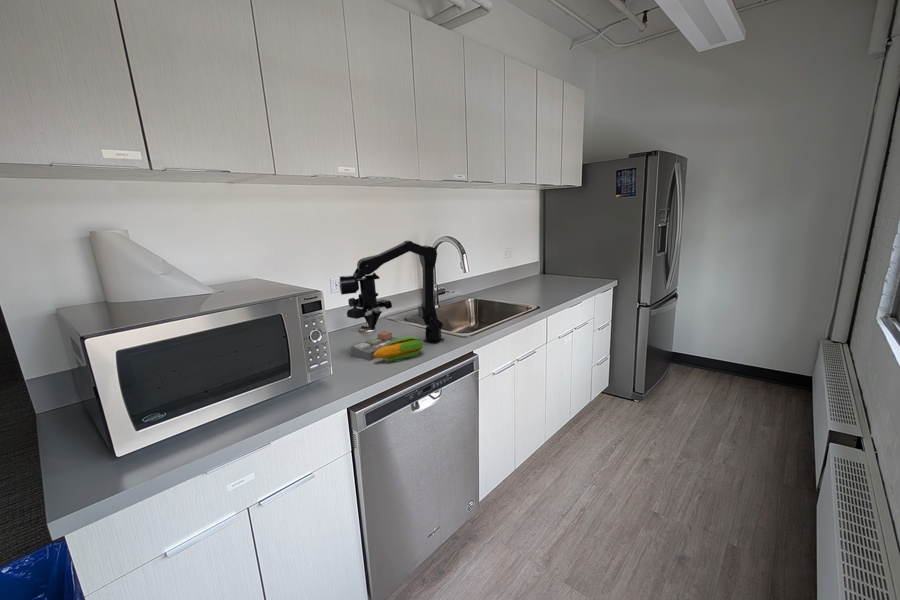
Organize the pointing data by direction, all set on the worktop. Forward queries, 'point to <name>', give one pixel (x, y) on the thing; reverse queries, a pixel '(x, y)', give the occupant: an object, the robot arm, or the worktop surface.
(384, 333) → the key terracotta
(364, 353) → the keypad
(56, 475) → the worktop surface
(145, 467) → the worktop surface
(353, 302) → the robot arm
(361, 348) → the key offwhite
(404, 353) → the corn
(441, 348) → the worktop surface
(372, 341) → the key sage
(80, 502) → the worktop surface
